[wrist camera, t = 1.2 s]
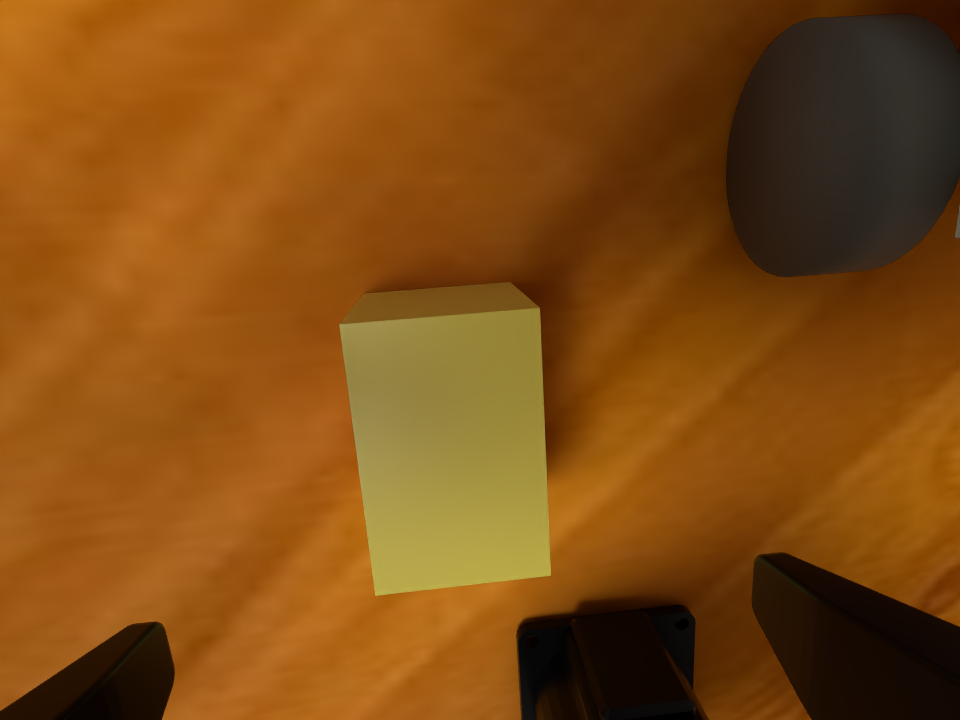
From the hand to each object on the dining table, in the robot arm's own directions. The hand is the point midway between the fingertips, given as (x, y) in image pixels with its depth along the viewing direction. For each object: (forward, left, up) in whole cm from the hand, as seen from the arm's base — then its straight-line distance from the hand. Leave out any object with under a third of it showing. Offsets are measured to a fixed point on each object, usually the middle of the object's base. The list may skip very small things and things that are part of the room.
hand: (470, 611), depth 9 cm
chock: (0, 0, -10) cm, 10 cm away
